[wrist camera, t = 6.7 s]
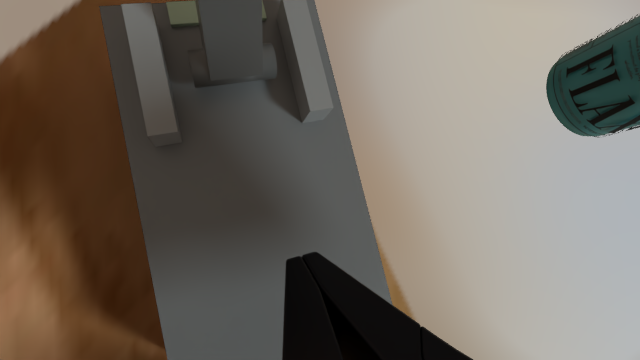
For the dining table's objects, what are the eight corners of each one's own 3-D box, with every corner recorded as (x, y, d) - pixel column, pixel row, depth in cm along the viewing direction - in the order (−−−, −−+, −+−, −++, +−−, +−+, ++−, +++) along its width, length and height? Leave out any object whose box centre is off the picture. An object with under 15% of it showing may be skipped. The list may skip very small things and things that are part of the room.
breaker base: (356, 305, 20) (416, 335, 14) (189, 361, 17) (170, 430, 11) (292, 49, 21) (321, -28, 15) (130, 65, 19) (85, -21, 13)
